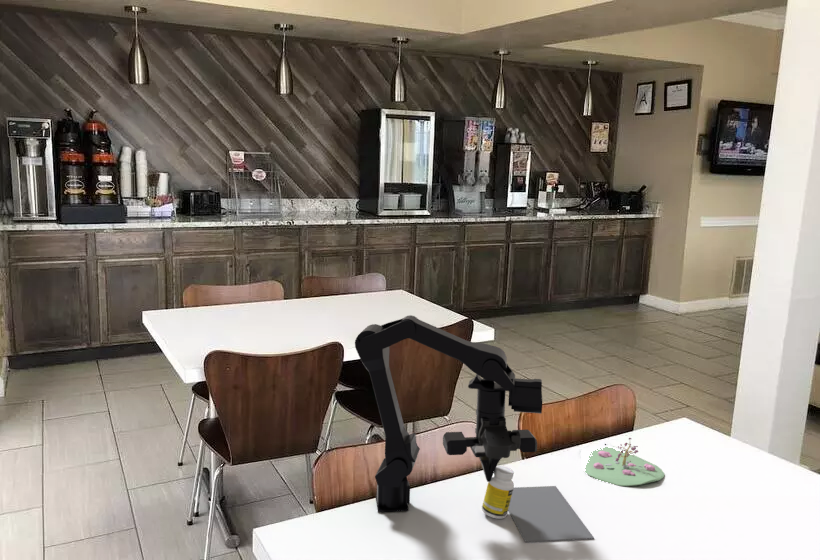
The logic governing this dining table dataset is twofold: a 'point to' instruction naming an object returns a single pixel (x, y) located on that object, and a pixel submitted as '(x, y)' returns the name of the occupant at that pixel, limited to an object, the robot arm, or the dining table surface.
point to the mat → (545, 515)
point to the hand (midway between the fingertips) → (488, 480)
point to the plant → (622, 467)
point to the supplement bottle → (498, 493)
